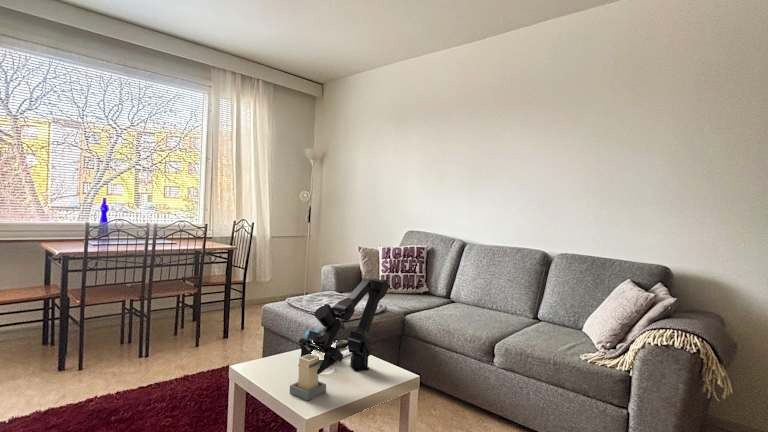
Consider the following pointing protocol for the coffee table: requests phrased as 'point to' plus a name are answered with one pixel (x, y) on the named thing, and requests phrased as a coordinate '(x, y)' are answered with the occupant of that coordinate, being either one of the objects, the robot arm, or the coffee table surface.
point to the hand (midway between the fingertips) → (308, 370)
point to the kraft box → (308, 372)
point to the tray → (305, 394)
